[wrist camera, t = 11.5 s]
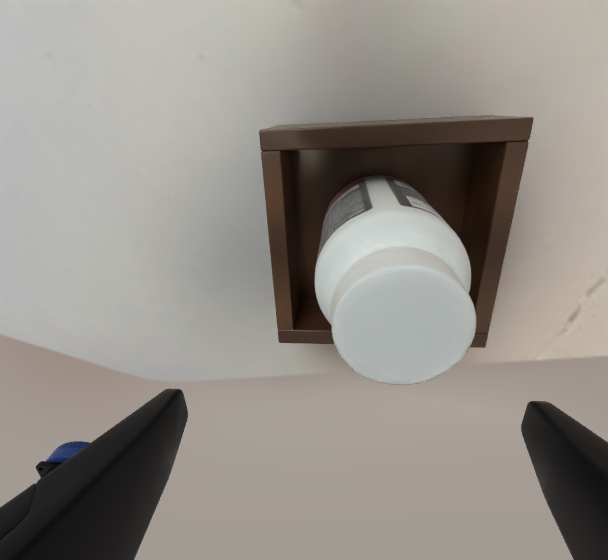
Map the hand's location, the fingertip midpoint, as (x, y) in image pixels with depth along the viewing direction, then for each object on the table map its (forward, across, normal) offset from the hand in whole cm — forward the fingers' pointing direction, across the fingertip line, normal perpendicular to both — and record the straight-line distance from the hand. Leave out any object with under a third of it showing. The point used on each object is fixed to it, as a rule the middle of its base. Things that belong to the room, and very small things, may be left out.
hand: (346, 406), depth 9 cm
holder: (+12, -2, -2) cm, 12 cm away
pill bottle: (+11, -2, -2) cm, 12 cm away
